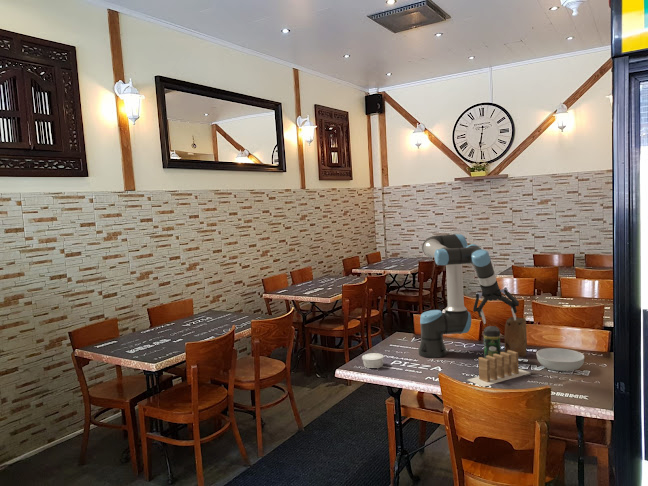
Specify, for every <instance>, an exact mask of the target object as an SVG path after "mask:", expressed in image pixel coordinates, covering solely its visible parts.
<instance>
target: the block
mask: <svg viewBox="0 0 648 486" xmlns="http://www.w3.org/2000/svg"><path fill="white" fill-rule="evenodd" d="M527 334H528V332H527V321H526V318H523V317H519V316H516V320H514V317H513V316H510V317H509V318H507V320H506V322H505V325H504V352H505V353H507V351H508V350H511V351H515V352H518V358H525V357H526V356H527V347H528V346H527V345H528V341H527V340H528V337H527Z"/></svg>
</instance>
